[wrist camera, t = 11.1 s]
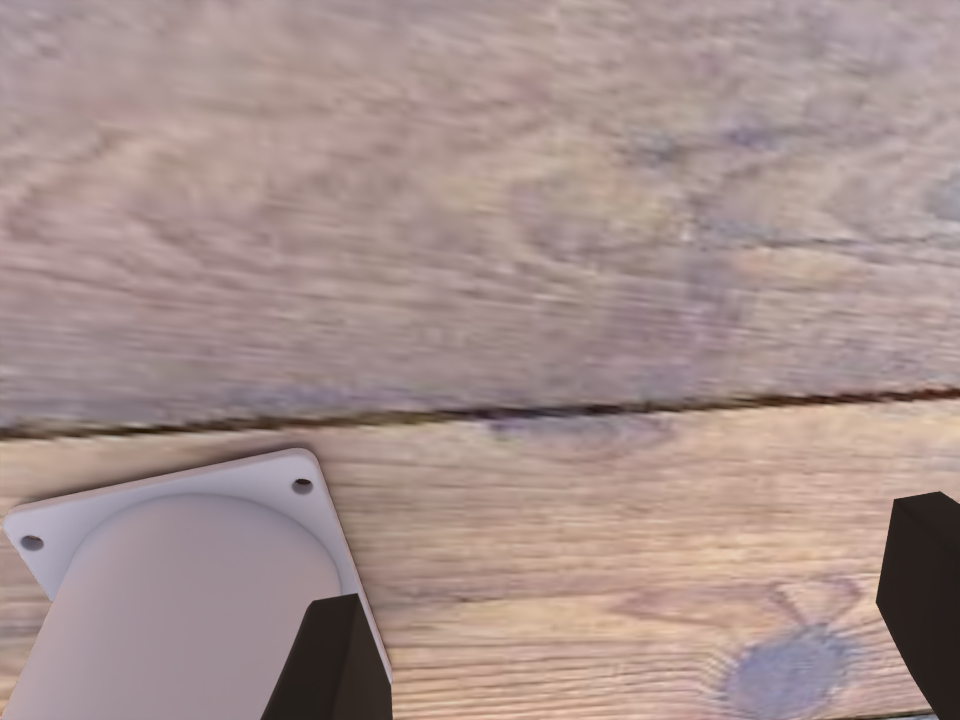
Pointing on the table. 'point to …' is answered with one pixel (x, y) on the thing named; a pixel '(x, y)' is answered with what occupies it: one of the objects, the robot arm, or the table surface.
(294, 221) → the table surface
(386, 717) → the robot arm
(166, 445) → the table surface
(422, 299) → the table surface
